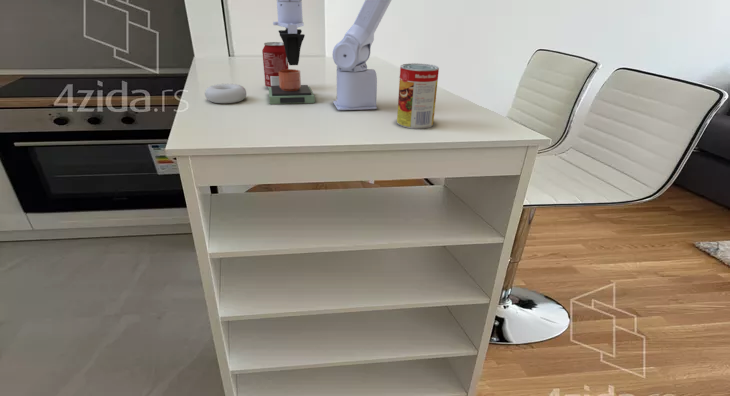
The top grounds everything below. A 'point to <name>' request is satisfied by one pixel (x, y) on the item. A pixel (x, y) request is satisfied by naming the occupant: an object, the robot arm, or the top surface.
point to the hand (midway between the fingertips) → (292, 62)
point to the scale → (291, 95)
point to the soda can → (273, 62)
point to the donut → (225, 93)
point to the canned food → (417, 95)
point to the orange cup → (289, 79)
